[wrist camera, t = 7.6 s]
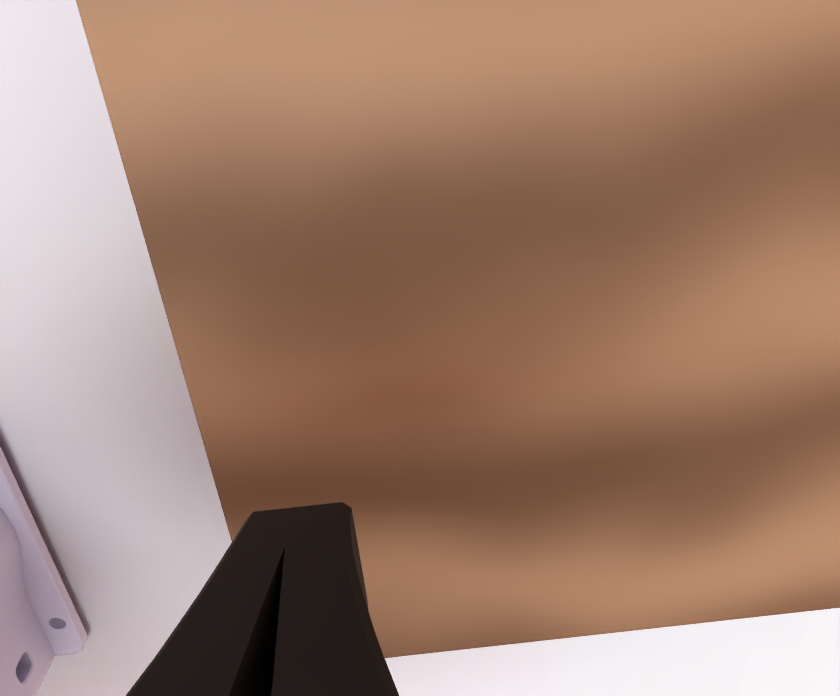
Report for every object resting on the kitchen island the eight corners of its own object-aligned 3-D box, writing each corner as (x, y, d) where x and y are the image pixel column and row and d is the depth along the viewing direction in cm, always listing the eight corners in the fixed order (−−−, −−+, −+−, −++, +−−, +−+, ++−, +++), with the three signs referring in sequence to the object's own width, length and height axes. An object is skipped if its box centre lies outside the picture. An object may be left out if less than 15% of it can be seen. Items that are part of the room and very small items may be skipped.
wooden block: (773, 508, 22) (850, 606, 18) (286, 561, 22) (269, 671, 18) (1007, -636, 11) (1315, -946, 7) (16, -552, 11) (-163, -828, 7)
